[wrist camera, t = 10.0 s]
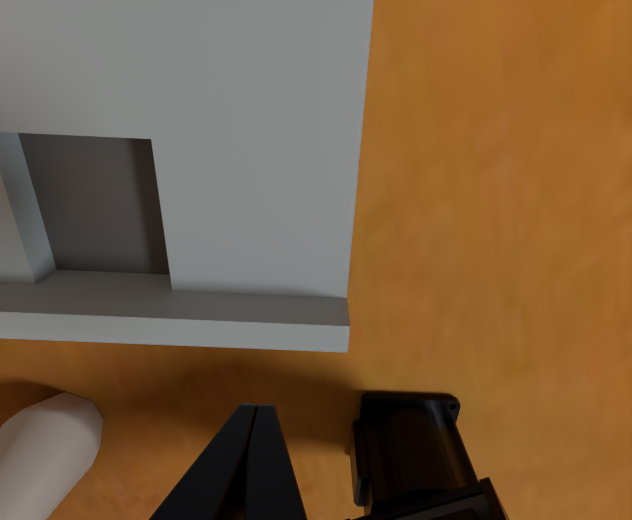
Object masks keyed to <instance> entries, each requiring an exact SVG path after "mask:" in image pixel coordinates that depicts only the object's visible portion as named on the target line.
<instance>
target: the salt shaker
mask: <svg viewBox="0 0 632 520" xmlns="http://www.w3.org/2000/svg"><path fill="white" fill-rule="evenodd" d="M103 422H104V420H103V418H102V417H101V415H100V413H99V412H98V410H97V408H96V407H95V405H94V404H93V402H92V401H90V400H87V399H84V398H81V397H78V396H75V395H72V394H69V393H67V392H63V393H61V394H58V395H56V396H53V397H51V398H48V399H45V400H43V401H41V402H39V403H36V404H34V405H31V406H29V407H26V408H24V409H22V410H21V411H20V412H18V413H17V414H15V415H14V416H12V417H11V418H10V419H8V420H7V421H6V422H5V423H3V425H2V426H1V428H0V520H46V519H47V518H48V516H49V515H50V514H51V513H52V512H53V511H54V509H55V508H56V507H57V506H58V505H59V504H60V502H61V501H62V500H63V499H64V498H65V497H66V495H67V494H68V493H69V492H70V491H71V490H72V488H73V487H74V486H75V485H76V484H77V483H78V481H79V480H80V479H81V478H82V477H83V476H84V474H85V473H86V472H87V471H88V470H89V469H90V467H91V466H92V465H93V462H94V460H95V458H96V455H97V453H98V450H99V447H100V443H101V436H102V429H103Z"/></svg>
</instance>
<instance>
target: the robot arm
mask: <svg viewBox="0 0 632 520" xmlns="http://www.w3.org/2000/svg"><path fill="white" fill-rule="evenodd" d="M367 401H369V402H367ZM451 404H452V405H451ZM459 410H460V403H459V401H458V399H457V398H456V397H453V396H429V395H403V394H378V393H366V394H364V395H362V396H361V400H360V408H359V416H358V420H355V421H354V422H353V423H352V429H351V438H350V446H349V449H350V461H351V474H352V486H353V498H354V503H355V504H356V505H357V507H364V515H365V516H362V517H359V518H356V519H352V520H509V518H508V516H507V514H506V511H505V509H504V507H503V505H502V503H501V501H500V499H499V497H498V495H497V493H496V491H495V489H494V487H493V485H492V482H491V480H490V478H489V477H487V478H484V479H480V480H479V481H480V482H479V481H478V479H477V476H476V474H475V471H474V469H473V466H472V464H471V461H470V459H469V456H468V454H467V451H466V449H465V446H464V444H463V441H462V439H461V436H460V434H459V431H458V429H457V426H456V421H457V417H458V414H459ZM149 520H307V516H306V513H305V509H304V506H303V502H302V499H301V495H300V492H299V488H298V485H297V481H296V478H295V474H294V471H293V467H292V464H291V460H290V457H289V453H288V450H287V446H286V443H285V439H284V436H283V432H282V429H281V425H280V422H279V418H278V414H277V411H276V408H275V406H274V405H272V404H259V405H258V406H257V405H256V404H248V403H242V404H240V405H239V406H238V408H237V409H236V410H235V411H234V413H233V414H232V415H231V416H230V418H229V419H228V420H227V421H226V423H225V424H224V425H223V426H222V428H221V429H220V430H219V432H218V433H217V434H216V435H215V437H214V438H213V439H212V440H211V442H210V443H209V444H208V445H207V447H206V448H205V449H204V450H203V452H202V453H201V454H200V456H199V457H198V458H197V459H196V461H195V462H194V463H193V464H192V466H191V467H190V468H189V469H188V471H187V472H186V473H185V474H184V476H183V477H182V478H181V479H180V481H179V482H178V483H177V485H176V486H175V487H174V488H173V490H172V491H171V492H170V493H169V495H168V496H167V497H166V498H165V500H164V501H163V502H162V503H161V505H160V506H159V507H158V509H157V510H156V511H155V512H154V514H153V515H152V516H151V517H150V519H149ZM346 520H350V519H346Z"/></svg>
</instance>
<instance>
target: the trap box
mask: <svg viewBox="0 0 632 520" xmlns="http://www.w3.org/2000/svg"><path fill="white" fill-rule="evenodd" d="M373 3H374V0H0V338H7V339H31V340H55V341H80V342H104V343H129V344H153V345H177V346H202V347H226V348H250V349H275V350H299V351H323V352H348V342H349V332H350V322H349V314H348V306H347V287H348V276H349V265H350V254H351V243H352V232H353V221H354V210H355V200H356V189H357V178H358V167H359V156H360V145H361V134H362V123H363V112H364V101H365V90H366V79H367V68H368V57H369V47H370V36H371V25H372V14H373Z"/></svg>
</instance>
